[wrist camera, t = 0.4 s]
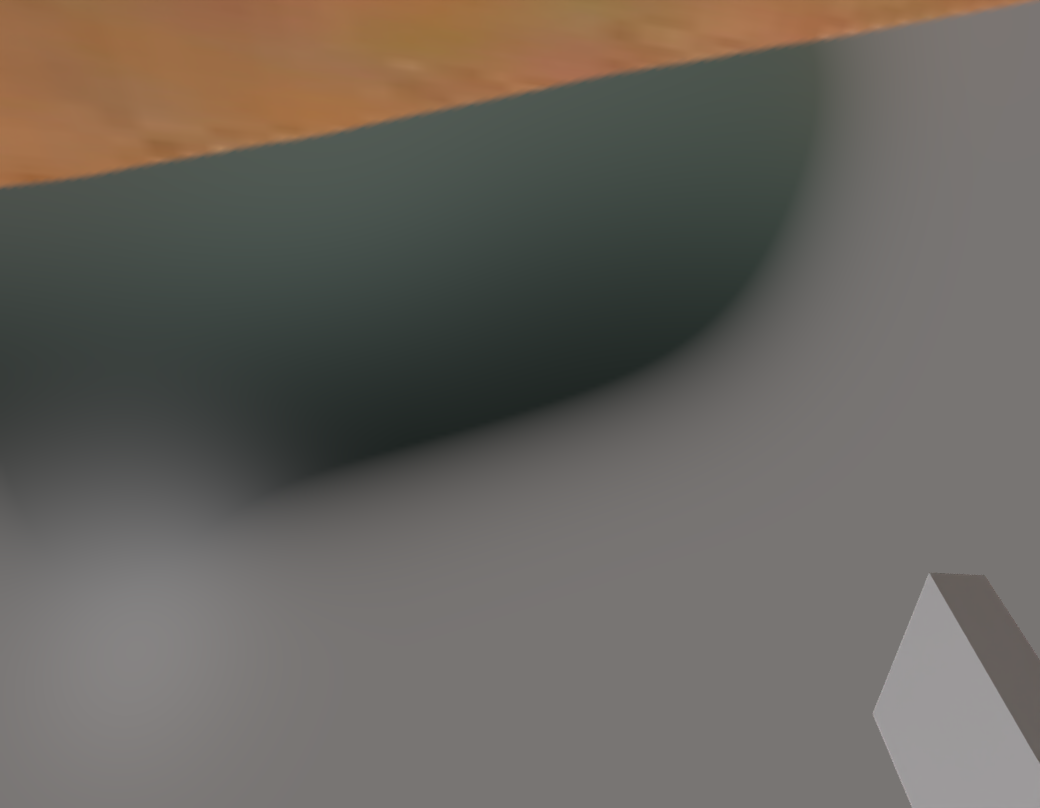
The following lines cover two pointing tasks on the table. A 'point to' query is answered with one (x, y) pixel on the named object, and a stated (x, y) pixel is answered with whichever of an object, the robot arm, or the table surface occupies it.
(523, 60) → the table surface
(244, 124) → the table surface
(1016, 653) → the robot arm
